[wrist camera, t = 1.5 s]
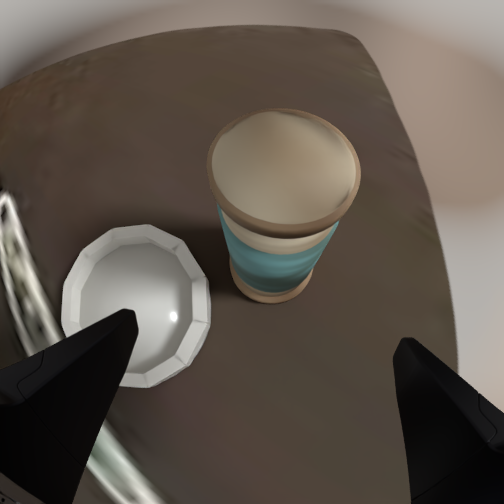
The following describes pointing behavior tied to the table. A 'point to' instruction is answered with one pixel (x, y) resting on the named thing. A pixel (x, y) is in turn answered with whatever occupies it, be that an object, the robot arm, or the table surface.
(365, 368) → the table surface
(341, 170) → the disc
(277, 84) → the table surface
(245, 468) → the table surface
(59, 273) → the table surface
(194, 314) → the ceramic dish
